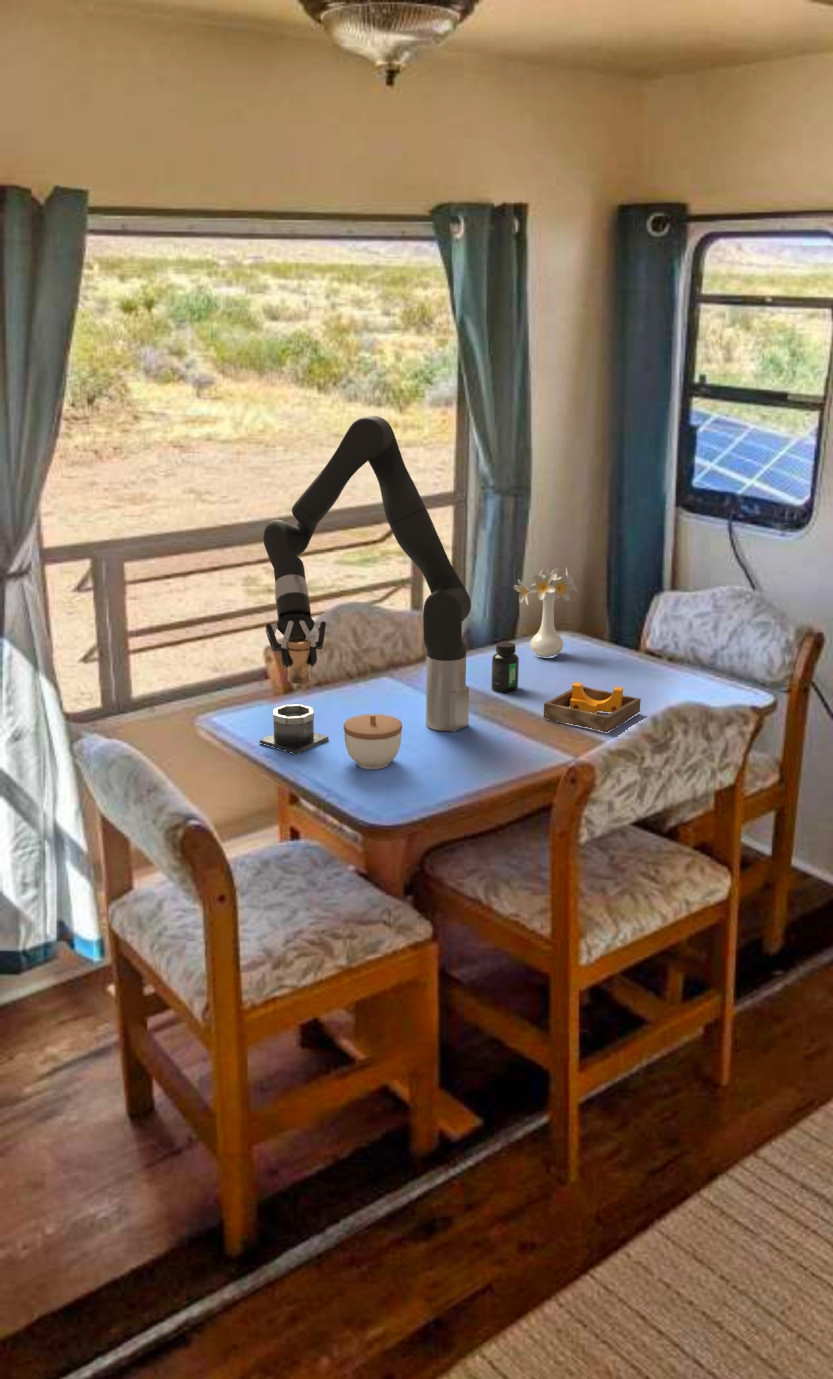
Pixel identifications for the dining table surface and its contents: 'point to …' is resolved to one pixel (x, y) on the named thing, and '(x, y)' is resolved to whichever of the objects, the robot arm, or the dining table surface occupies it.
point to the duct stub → (294, 729)
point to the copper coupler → (299, 660)
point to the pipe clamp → (590, 705)
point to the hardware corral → (562, 713)
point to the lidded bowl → (372, 739)
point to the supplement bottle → (505, 668)
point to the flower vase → (547, 608)
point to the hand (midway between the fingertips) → (300, 665)
